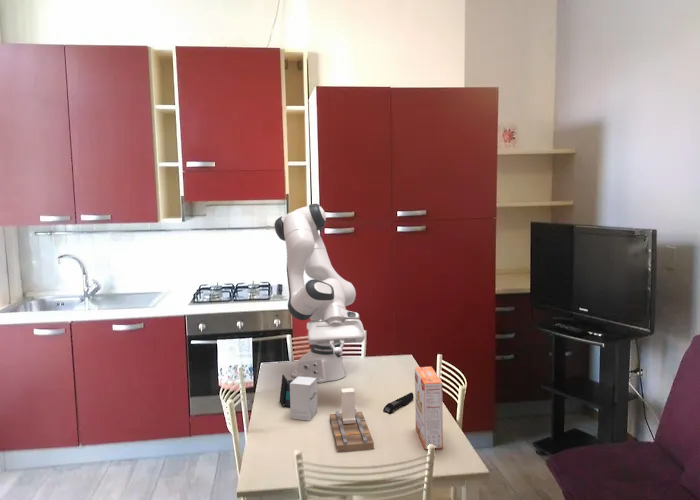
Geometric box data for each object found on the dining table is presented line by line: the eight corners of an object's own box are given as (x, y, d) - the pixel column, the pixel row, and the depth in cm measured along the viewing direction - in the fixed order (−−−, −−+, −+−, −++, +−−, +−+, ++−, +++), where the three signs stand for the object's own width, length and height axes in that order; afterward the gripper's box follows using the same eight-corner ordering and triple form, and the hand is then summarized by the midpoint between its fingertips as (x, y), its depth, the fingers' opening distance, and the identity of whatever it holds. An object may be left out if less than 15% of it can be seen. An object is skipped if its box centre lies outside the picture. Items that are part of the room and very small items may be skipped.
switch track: (329, 419, 179) (329, 411, 179) (361, 417, 180) (361, 408, 180) (337, 452, 157) (337, 442, 157) (373, 448, 159) (373, 439, 158)
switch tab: (341, 417, 175) (340, 387, 174) (353, 416, 176) (352, 386, 174) (343, 424, 170) (342, 393, 169) (355, 423, 171) (355, 392, 170)
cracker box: (414, 428, 171) (414, 366, 169) (432, 427, 172) (432, 365, 169) (423, 450, 157) (423, 382, 155) (443, 449, 158) (443, 381, 155)
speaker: (277, 407, 189) (279, 379, 188) (279, 401, 195) (281, 374, 194) (298, 409, 189) (300, 381, 188) (300, 403, 195) (302, 376, 194)
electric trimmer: (416, 401, 194) (416, 393, 193) (390, 415, 182) (390, 406, 182) (408, 399, 196) (408, 390, 196) (382, 412, 185) (382, 403, 184)
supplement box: (310, 421, 178) (309, 385, 177) (290, 418, 180) (288, 383, 179) (318, 412, 185) (317, 377, 184) (298, 409, 187) (297, 375, 186)
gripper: (306, 315, 190) (307, 350, 182) (362, 313, 192) (366, 347, 183) (306, 324, 195) (307, 358, 187) (361, 322, 197) (365, 355, 188)
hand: (337, 353), depth 185 cm, fingers closed
